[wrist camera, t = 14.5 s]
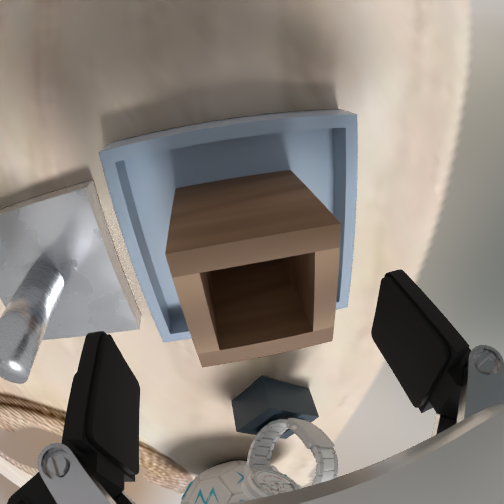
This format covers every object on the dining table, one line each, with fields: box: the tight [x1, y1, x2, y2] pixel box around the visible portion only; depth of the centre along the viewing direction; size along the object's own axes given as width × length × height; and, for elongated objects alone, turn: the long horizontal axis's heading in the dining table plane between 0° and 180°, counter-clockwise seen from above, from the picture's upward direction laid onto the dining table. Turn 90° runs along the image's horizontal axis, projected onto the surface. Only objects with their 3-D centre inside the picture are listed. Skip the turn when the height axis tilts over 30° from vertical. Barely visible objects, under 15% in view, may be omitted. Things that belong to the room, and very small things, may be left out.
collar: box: [165, 170, 341, 367], centre depth 14 cm, size 6×6×6 cm
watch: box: [232, 376, 338, 500], centre depth 21 cm, size 6×8×11 cm
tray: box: [99, 109, 358, 342], centre depth 16 cm, size 11×11×2 cm
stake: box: [0, 180, 141, 383], centre depth 13 cm, size 9×9×8 cm
